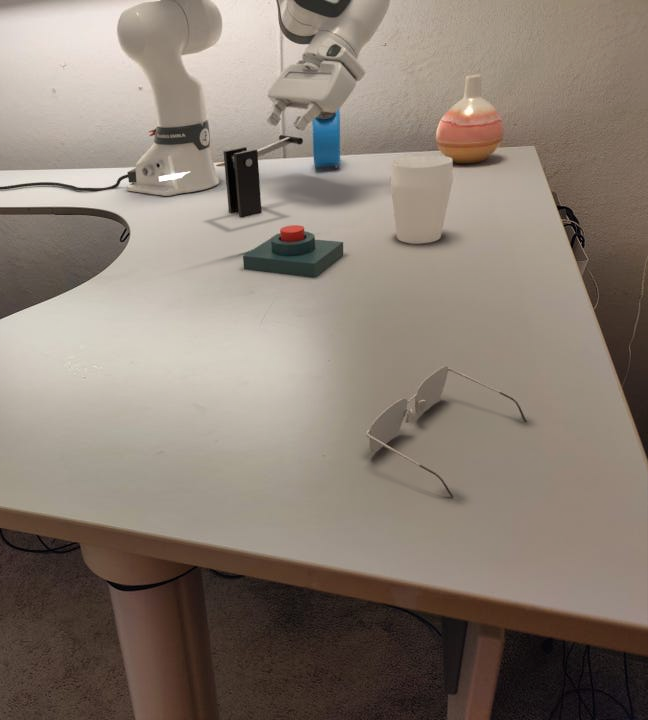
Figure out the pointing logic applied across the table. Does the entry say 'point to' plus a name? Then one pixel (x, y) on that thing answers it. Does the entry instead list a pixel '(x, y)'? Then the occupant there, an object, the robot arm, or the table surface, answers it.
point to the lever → (275, 145)
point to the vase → (470, 126)
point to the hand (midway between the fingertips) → (283, 125)
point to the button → (292, 233)
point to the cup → (421, 196)
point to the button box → (294, 256)
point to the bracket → (243, 182)
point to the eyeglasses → (394, 415)
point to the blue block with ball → (326, 139)
